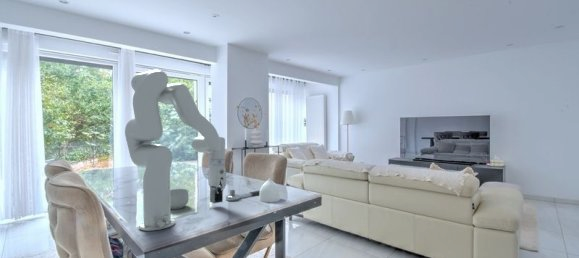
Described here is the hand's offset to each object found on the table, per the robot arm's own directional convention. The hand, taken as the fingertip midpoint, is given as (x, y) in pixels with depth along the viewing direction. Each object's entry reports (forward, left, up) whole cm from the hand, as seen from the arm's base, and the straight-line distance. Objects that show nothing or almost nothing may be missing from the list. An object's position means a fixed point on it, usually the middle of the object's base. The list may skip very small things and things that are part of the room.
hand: (216, 200), depth 133 cm
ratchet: (+7, -21, -3) cm, 23 cm away
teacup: (+14, +15, -3) cm, 21 cm away
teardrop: (-7, -27, -3) cm, 28 cm away
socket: (0, 0, -1) cm, 1 cm away
